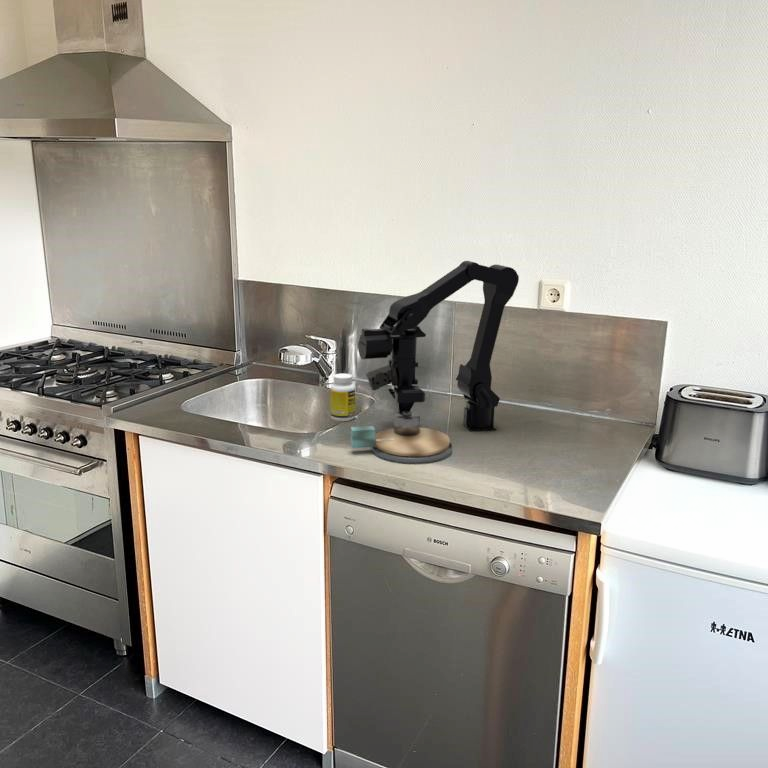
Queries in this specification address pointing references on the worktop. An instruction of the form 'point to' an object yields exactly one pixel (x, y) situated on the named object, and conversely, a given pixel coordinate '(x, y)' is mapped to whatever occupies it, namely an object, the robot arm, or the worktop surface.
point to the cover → (407, 423)
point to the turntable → (401, 441)
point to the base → (412, 459)
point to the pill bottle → (342, 398)
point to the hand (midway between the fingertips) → (402, 421)
